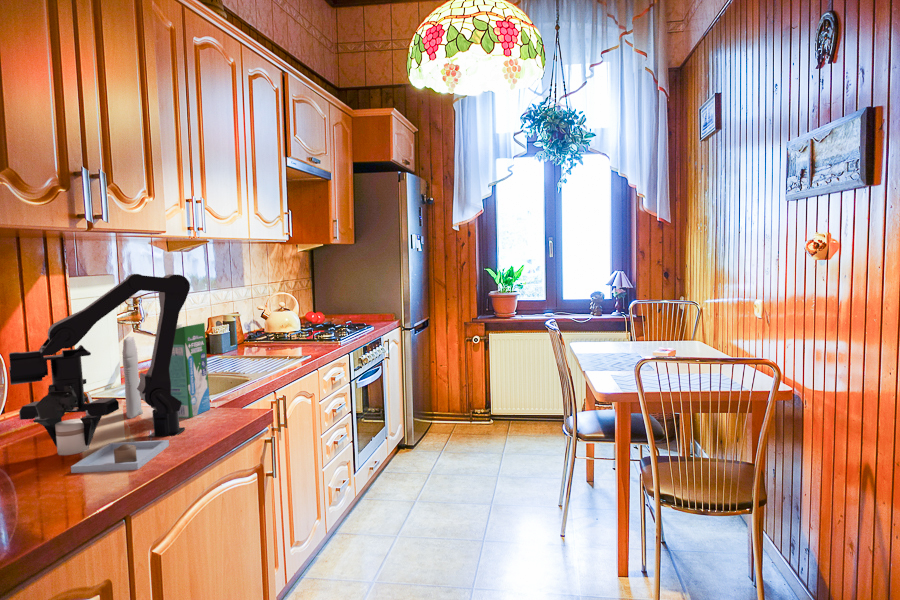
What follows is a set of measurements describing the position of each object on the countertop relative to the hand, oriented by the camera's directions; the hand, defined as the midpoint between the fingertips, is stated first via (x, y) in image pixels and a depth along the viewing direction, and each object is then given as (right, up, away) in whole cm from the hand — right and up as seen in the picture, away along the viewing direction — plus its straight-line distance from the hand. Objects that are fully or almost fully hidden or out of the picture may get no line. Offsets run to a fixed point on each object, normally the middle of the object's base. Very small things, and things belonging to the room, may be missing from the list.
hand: (73, 446), depth 131 cm
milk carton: (+11, +1, +32) cm, 34 cm away
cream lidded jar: (0, -2, 0) cm, 2 cm away
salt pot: (+18, -1, -10) cm, 21 cm away
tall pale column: (-4, +1, +33) cm, 33 cm away
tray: (+15, -2, -7) cm, 16 cm away
